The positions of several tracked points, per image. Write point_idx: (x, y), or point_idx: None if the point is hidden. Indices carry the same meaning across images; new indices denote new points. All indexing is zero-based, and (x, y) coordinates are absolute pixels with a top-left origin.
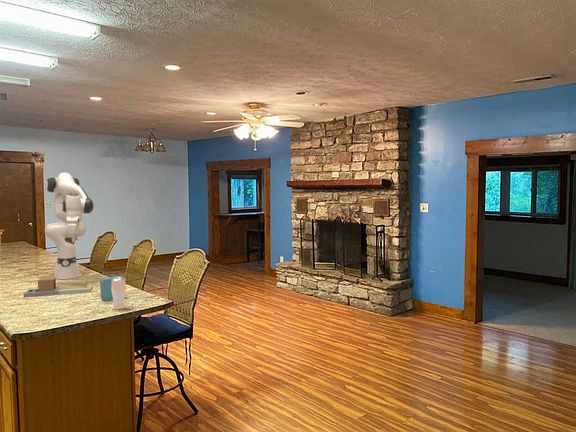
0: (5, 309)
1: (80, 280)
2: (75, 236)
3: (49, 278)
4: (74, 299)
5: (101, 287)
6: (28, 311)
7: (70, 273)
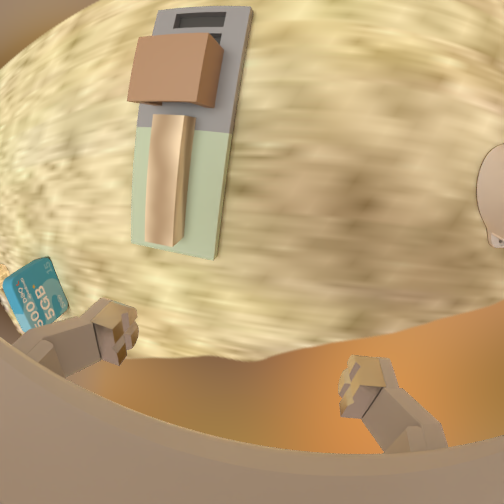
0: (46, 34)
1: (170, 220)
2: (383, 415)
3: (162, 77)
4: (63, 188)
5: (20, 270)
6: (13, 96)
7: (493, 202)
